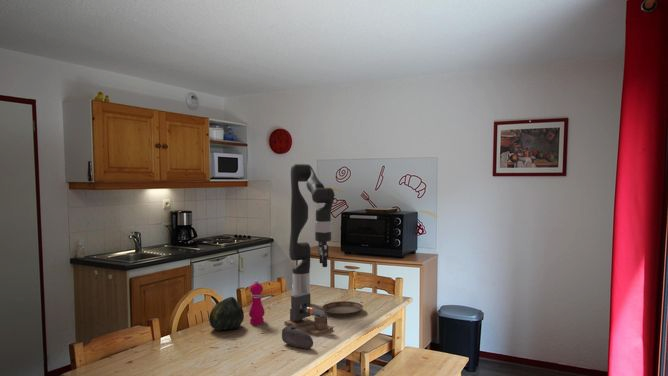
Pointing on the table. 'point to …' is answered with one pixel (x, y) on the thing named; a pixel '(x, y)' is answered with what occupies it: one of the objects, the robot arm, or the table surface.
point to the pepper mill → (256, 304)
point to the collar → (295, 305)
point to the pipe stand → (311, 325)
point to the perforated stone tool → (296, 337)
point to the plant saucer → (342, 309)
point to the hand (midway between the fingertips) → (323, 265)
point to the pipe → (312, 311)
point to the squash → (226, 315)
